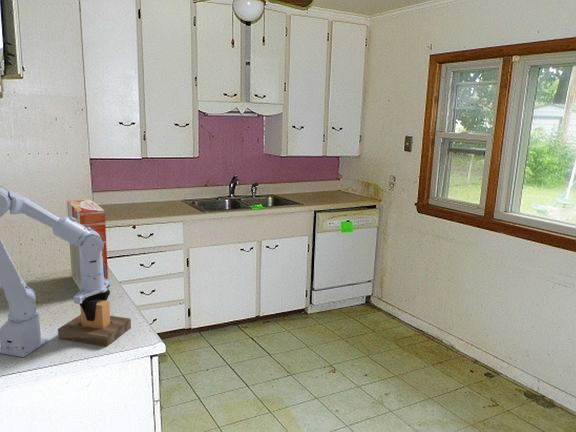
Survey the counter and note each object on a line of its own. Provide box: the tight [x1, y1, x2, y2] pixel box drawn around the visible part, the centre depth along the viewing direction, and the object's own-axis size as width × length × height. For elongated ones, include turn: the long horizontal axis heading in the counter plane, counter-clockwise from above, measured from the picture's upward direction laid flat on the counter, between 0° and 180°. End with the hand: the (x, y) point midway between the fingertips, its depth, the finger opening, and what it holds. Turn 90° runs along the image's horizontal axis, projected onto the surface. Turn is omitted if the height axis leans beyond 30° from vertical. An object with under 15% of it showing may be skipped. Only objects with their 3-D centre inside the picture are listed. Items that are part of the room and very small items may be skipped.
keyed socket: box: [57, 314, 132, 348], centre depth 135 cm, size 12×16×3 cm
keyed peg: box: [79, 300, 111, 329], centre depth 134 cm, size 4×7×8 cm, turn 77°
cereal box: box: [66, 198, 109, 291], centre depth 168 cm, size 23×8×30 cm, turn 35°
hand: (95, 317), depth 134 cm, fingers closed on keyed peg, 3 cm apart
